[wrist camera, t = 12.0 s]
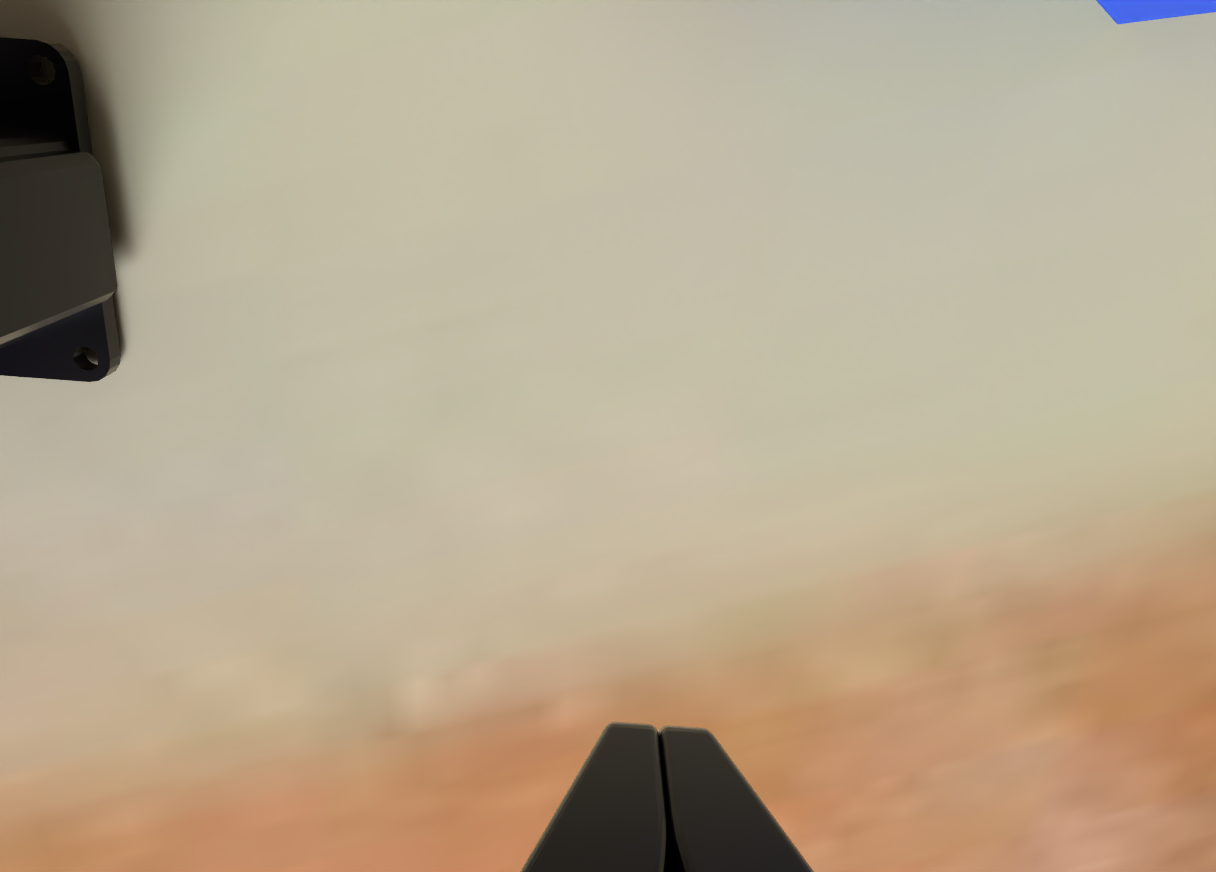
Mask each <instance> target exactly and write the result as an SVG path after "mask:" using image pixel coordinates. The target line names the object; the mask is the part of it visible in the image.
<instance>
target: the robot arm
mask: <svg viewBox="0 0 1216 872" xmlns="http://www.w3.org/2000/svg"><path fill="white" fill-rule="evenodd" d="M45 57H46V58H47V59H48V60H49V61H51V62H52V64H53V66H54V69H55V79H54V80H53V81H52V83H49V82H48V81H47V80H46V79H45V78H44V77H43V75H42V72H41V70H40V68H41V61H42V60H43V59H44V58H45ZM116 290H117V280H116V273H115V265H114V258H113V251H112V243H111V236H110V229H109V221H108V214H107V207H106V199H105V192H104V185H103V177H102V170H101V166H100V165H99V164H98V162H97V161H96V160H95V159H94V158H93V154H92V146H91V139H90V132H89V125H88V118H87V111H86V103H85V96H84V89H83V82H82V75H81V70H80V67H79V64H78V61H77V60H76V58H75V57H74V56H73V54H72V53H71V51H69V50H68V49H66V48H65V47H64V46H62V45H61V44H58V43H54V42H51V41H41V40H28V39H15V38H3V37H0V375H5V376H18V377H32V378H45V379H59V380H72V381H86V382H91V381H99V380H100V379H102V378H104V377H106V376H108V375H109V374H111V373H113V372H114V371H116V369H117V368H118V366H119V364H120V348H119V340H118V333H117V326H116V319H115V312H114V305H113V297H112V294H113V293H114V292H115V291H116ZM85 347H87V348H90V349H91V350H93V351H94V352H95V353H96V355H97V357H98V365H97V364H94V363H91V362H90V361H89V360H88V359H87V358H86V355H85V353H84V350H85ZM521 872H814V871H813V870H812V869H811V867H810V866H809V865H808V863H807V862H806V860H805V859H804V858H803V856H802V855H801V854H800V852H799V851H798V850H797V848H796V847H795V845H794V844H793V843H792V841H791V840H790V839H789V837H788V836H787V835H786V833H785V832H784V830H783V829H782V828H781V826H780V825H779V824H778V822H777V821H776V820H775V818H774V817H773V816H772V814H771V813H770V811H769V810H768V809H767V807H766V806H765V805H764V803H763V802H762V801H761V799H760V798H759V796H758V795H757V794H756V792H755V791H754V790H753V788H752V787H751V786H750V784H749V783H748V782H747V780H746V779H745V777H744V776H743V775H742V773H741V772H740V771H739V769H738V768H737V767H736V765H735V764H734V762H733V761H732V760H731V758H730V757H729V756H728V754H727V753H726V752H725V750H724V749H723V747H722V746H721V745H720V743H719V742H718V741H717V739H716V738H715V737H714V735H713V734H712V733H711V732H710V731H708V730H707V729H703V728H695V727H680V726H664V727H663V728H661V730H660V731H659V733H658V731H657V729H656V728H655V727H654V726H653V725H650V724H638V723H624V722H612V723H610V724H608V725H607V727H606V728H605V729H604V730H603V732H602V734H601V736H600V737H599V739H598V741H597V742H596V744H595V746H594V747H593V749H592V751H591V753H590V754H589V756H588V758H587V759H586V761H585V763H584V765H583V766H582V768H581V770H580V771H579V773H578V775H577V776H576V778H575V780H574V782H573V783H572V785H571V787H570V788H569V790H568V792H567V793H566V795H565V797H564V799H563V800H562V802H561V804H560V805H559V807H558V809H557V810H556V812H555V814H554V816H553V817H552V819H551V821H550V822H549V824H548V826H547V827H546V829H545V831H544V833H543V834H542V836H541V838H540V839H539V841H538V843H537V844H536V846H535V848H534V850H533V851H532V853H531V855H530V856H529V858H528V860H527V861H526V863H525V865H524V867H523V868H522V870H521Z"/></svg>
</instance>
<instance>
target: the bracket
mask: <svg viewBox="0 0 1216 872" xmlns="http://www.w3.org/2000/svg"><path fill="white" fill-rule="evenodd" d="M1097 2H1098V3H1099V4H1100V5H1101V6H1102V7H1103V8H1104V10H1105V11H1106V12H1107V13H1108V14H1109V15H1110V16H1111V17H1112V19H1113V20H1114V21H1115V22H1116V23H1117V24H1123V23H1131V22H1139V21H1147V20H1154V19H1162V18H1170V17H1178V16H1186V15H1194V14H1202V13H1210V12H1216V0H1097Z"/></svg>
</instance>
